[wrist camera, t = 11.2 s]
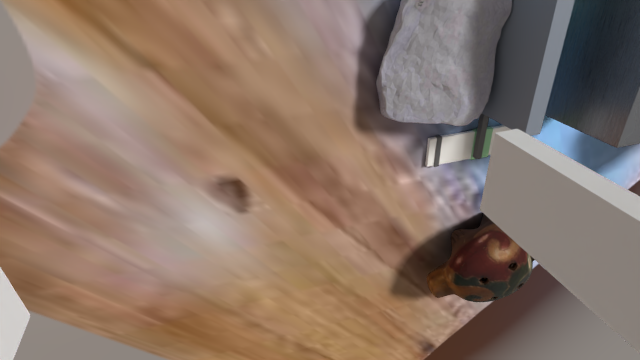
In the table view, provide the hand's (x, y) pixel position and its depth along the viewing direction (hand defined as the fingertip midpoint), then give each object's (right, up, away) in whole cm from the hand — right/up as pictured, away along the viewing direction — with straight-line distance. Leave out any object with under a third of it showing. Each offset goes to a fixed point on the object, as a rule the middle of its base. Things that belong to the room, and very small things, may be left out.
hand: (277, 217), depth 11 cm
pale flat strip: (+17, +5, +30) cm, 35 cm away
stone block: (+10, +12, +24) cm, 29 cm away
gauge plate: (+16, +12, +26) cm, 33 cm away
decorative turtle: (+19, -6, +38) cm, 43 cm away
